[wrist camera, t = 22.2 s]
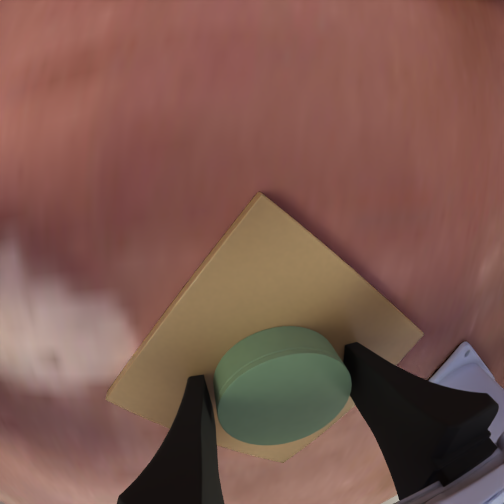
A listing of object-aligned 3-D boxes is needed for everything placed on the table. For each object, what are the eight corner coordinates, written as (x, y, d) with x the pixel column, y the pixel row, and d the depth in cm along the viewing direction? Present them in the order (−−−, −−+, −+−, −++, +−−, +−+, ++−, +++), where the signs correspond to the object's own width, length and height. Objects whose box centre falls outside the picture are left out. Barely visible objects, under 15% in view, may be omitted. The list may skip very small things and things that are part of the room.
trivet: (418, 328, 14) (424, 334, 14) (281, 455, 16) (283, 463, 16) (258, 190, 11) (262, 193, 10) (107, 391, 12) (105, 400, 12)
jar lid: (358, 359, 13) (375, 384, 12) (278, 428, 14) (287, 455, 13) (274, 300, 11) (288, 328, 10) (187, 390, 12) (188, 421, 11)
